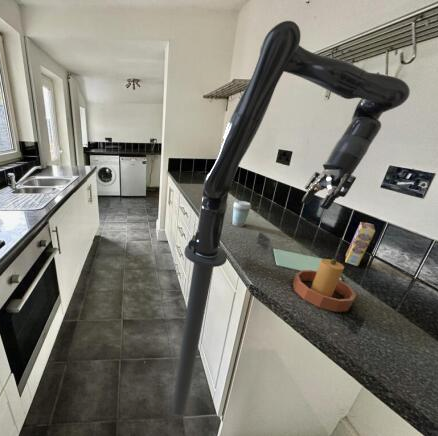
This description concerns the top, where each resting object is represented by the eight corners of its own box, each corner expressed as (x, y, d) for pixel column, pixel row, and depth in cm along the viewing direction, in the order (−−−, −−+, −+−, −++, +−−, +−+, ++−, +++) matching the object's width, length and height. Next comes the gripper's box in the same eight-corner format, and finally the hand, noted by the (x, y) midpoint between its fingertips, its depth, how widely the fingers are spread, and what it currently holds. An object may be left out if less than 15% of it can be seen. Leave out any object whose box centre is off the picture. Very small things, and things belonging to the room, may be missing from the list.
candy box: (359, 267, 88) (376, 230, 82) (344, 262, 90) (360, 227, 85) (358, 258, 94) (374, 224, 89) (345, 254, 97) (359, 221, 91)
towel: (276, 265, 86) (277, 264, 85) (273, 249, 98) (273, 248, 98) (341, 280, 79) (342, 279, 79) (329, 261, 91) (329, 260, 91)
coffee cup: (226, 223, 122) (230, 202, 118) (234, 220, 127) (238, 199, 123) (241, 229, 116) (247, 206, 112) (249, 225, 122) (254, 203, 117)
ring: (297, 301, 68) (301, 291, 66) (289, 275, 80) (293, 265, 79) (358, 318, 63) (364, 307, 61) (340, 287, 75) (344, 277, 74)
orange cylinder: (312, 296, 70) (326, 261, 65) (308, 286, 75) (321, 253, 70) (333, 302, 68) (349, 266, 64) (327, 291, 73) (342, 257, 68)
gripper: (317, 151, 73) (289, 197, 77) (355, 148, 59) (318, 204, 63) (338, 161, 74) (309, 206, 77) (380, 160, 60) (342, 215, 63)
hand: (313, 205), depth 70 cm, fingers open, 8 cm apart
